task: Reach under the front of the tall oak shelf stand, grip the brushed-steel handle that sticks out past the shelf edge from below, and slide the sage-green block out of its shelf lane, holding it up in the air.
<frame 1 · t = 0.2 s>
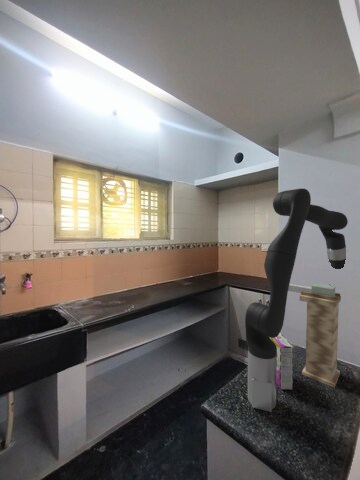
hand: (342, 287, 104), 31 cm above the worktop, tool tilted 20°, fingers open, 8 cm apart
shelf stand: (320, 373, 90), on the worktop
handle block: (323, 296, 88), point 32 cm above the worktop, touching shelf stand
candy bar box: (279, 380, 86), on the worktop
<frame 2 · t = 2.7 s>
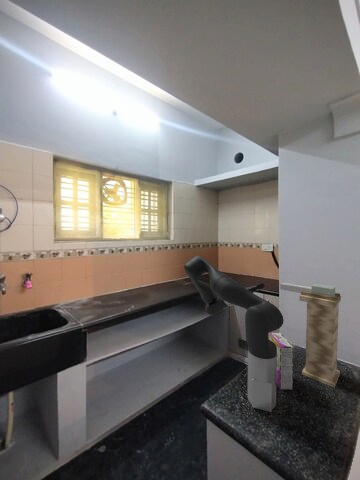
hand: (260, 286, 106), 31 cm above the worktop, tool pointing upward, fingers open, 8 cm apart
nothing on the worktop moved.
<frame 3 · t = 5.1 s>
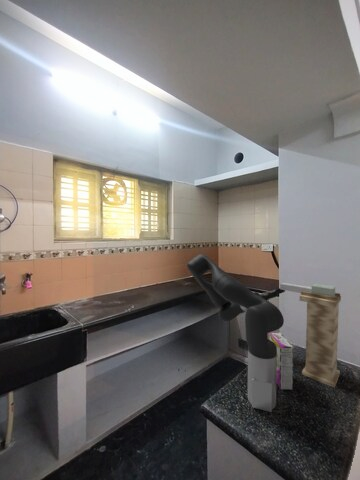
hand: (280, 291, 99), 31 cm above the worktop, tool pointing upward, fingers open, 8 cm apart
nothing on the worktop moved.
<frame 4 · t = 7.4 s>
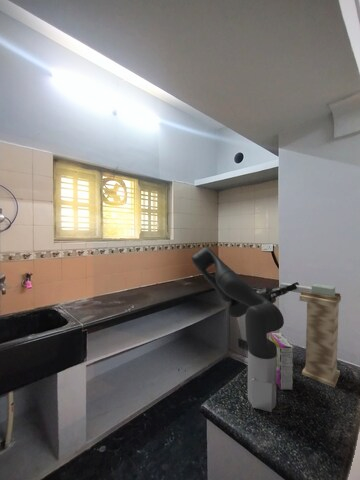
hand: (297, 285, 94), 35 cm above the worktop, tool pointing upward, fingers closed on handle block, 3 cm apart
handle block: (323, 296, 88), point 32 cm above the worktop, touching gripper, shelf stand
everything else where it was.
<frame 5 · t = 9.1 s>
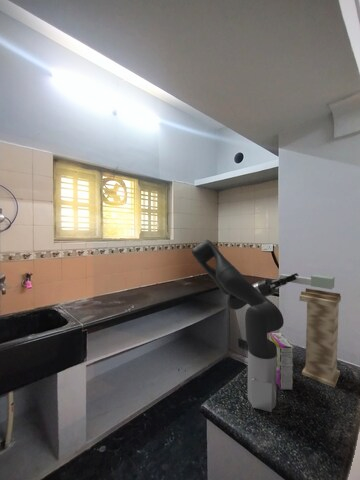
hand: (296, 276, 94), 39 cm above the worktop, tool pointing upward, fingers closed on handle block, 3 cm apart
handle block: (322, 286, 88), point 36 cm above the worktop, touching gripper
everything else where it was.
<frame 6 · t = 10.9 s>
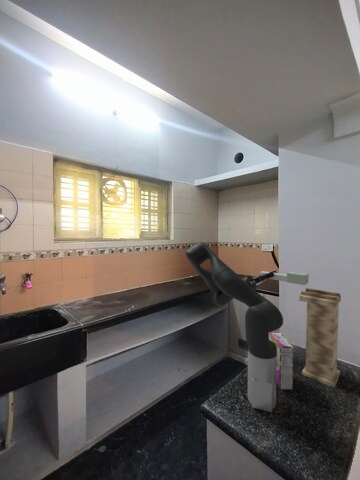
hand: (274, 273, 101), 39 cm above the worktop, tool pointing upward, fingers closed on handle block, 3 cm apart
handle block: (297, 282, 94), point 36 cm above the worktop, touching gripper
everything else where it was.
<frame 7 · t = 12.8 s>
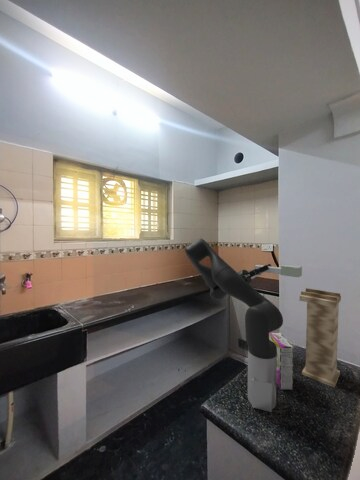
hand: (269, 266, 102), 41 cm above the worktop, tool pointing upward, fingers closed on handle block, 3 cm apart
handle block: (291, 275, 96), point 39 cm above the worktop, touching gripper
everything else where it was.
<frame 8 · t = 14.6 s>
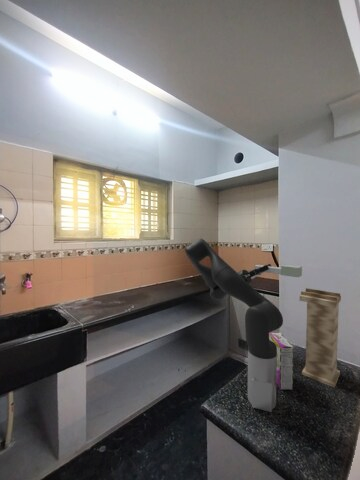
hand: (269, 266, 102), 41 cm above the worktop, tool pointing upward, fingers closed on handle block, 3 cm apart
handle block: (291, 275, 96), point 39 cm above the worktop, touching gripper
everything else where it was.
at the end: handle block moved 13.7 cm from its start; the gripper is holding handle block; handle block point 38.6 cm above the worktop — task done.
